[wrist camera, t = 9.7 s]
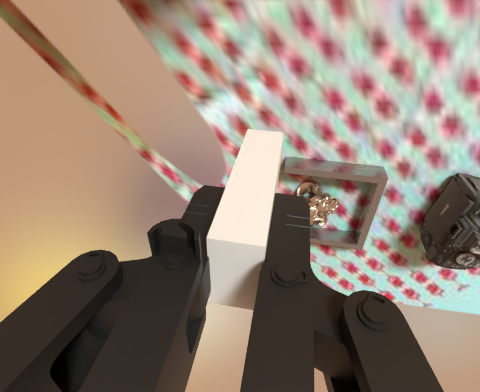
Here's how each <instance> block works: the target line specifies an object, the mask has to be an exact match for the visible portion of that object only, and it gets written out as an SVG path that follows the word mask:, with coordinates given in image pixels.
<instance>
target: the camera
mask: <svg viewBox="0 0 480 392" xmlns="http://www.w3.org/2000/svg"><path fill="white" fill-rule="evenodd" d="M421 240H422V242H423V245H424V248H425V250H426V258H427V259H428V260H429V261H431V262H433V263H434V264H436V265H437V266H440V267H443V268H446V269H464V270H466V269H473V268H478V267H480V178H479V177H475V176H471V175H466V174H461V173H457V174H455V175H454V177H453V178H452V179H451V181H450V182H449V183H448V185H447V186H446V188H445V189H444V191H443V192H442V193H441V195H440V196H439V197H438V199H437V200H436V201H435V203H434V204H433V206H432V207H431V208H430V210H429V211H428V213H427V214H426V216H425V217H424V223H423V225H422V228H421Z"/></svg>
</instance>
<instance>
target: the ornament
mask: <svg viewBox="0 0 480 392" xmlns="http://www.w3.org/2000/svg"><path fill="white" fill-rule="evenodd" d="M307 192H312V193H314V194H315V196H314V197H312V198H308V197H305V196H304V197H305V199H306V201H307V202H308V204H309V206H310V224H311V225H313V224H314V222H313V221H320V222H319V223H318V224H317V225H318V227H322V226H323V225H325V223H326V222H327V221H328V218H327V214H328V215H331V214H333V213H334V211H335V210H336V209H337V208H338V206H339V200H338V199H337V198H336V197H333V196H331V195H330V194H329V193H324V194H323V193H322V192H321V191H320V188H319V186H318V185H316V184H313V183H312V182H304V183H302V184H301V185H300V186H299V187H298V189H297V196H303V195H304V194H305V193H307Z"/></svg>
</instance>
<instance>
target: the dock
mask: <svg viewBox="0 0 480 392" xmlns="http://www.w3.org/2000/svg"><path fill="white" fill-rule="evenodd" d="M284 173H290V174H298V175H307V176H316V177H325V178H334V179H343V180H352V181H361V182H370V183H371V185H370V188H369V191H368V194H367V197H366V200H365V203H364V206H363V209H362V212H361V215H360V218H359V221H358V224H357V227H356V230H355V232H349V231H342V230H334V229H327V228H319V227H312V226H310V243H315V244H322V245H329V246H336V247H343V248H350V249H357V250H362V248H363V245H364V243H365V240H366V237H367V234H368V232H369V229H370V226H371V223H372V221H373V218H374V215H375V212H376V210H377V207H378V204H379V202H380V199H381V196H382V193H383V191H384V188H385V185H386V182H387V180H388V177H387V174H386V171H385V169H384V167H380V166H370V165H361V164H351V163H342V162H332V161H323V160H313V159H304V158H294V157H286V159H285V167H284Z"/></svg>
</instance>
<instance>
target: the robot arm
mask: <svg viewBox="0 0 480 392" xmlns="http://www.w3.org/2000/svg"><path fill="white" fill-rule="evenodd" d="M283 135H284V133H283V132H273V131H262V130H252V129H248V130H247V133H246V135H245V138H244V141H243V143H242V146H241V149H240V151H239V154H238V156H237V159H236V162H235V164H234V167H233V169H232V172H231V175H230V177H229V180H228V183H227V185H226V188H223V187H215V186H207V185H204V186H203V187H201V188H200V189H199V190H198V191H196V192H195V193H194V195H193V197H192V199H191V201H190V204H189V205H188V207H187V209H186V211H185V213H184V214H183V216H182V218H181V219H170V220H165V221H162V222H160V223H158V224H156V225H154V226H153V227H152V228H151V229H150V230H149V231H148V238H149V243H150V247H151V252H152V256H151V257H149V258H145V259H140V260H131V261H123V262H119V261H118V259H117V257H116V255H114V254H113V253H112V252H110V251H105V250H95V251H90V252H87V253H84V254H81V255H80V256H78V257H77V258H75V259H74V260H72V261H71V262H70V263H69V264H68V265H66V266H65V267H64V268H63V269H62V270H61V271H59V272H58V273H57V274H56V275H55V276H54V277H52V278H51V279H50V280H49V281H48V282H47V283H46V284H44V285H43V286H42V287H41V288H40V289H39V290H37V291H36V292H35V293H34V294H33V295H32V296H30V297H29V298H28V299H27V300H26V301H25V302H24V303H22V304H21V305H20V306H19V307H18V308H17V309H15V310H14V311H13V312H12V313H11V314H10V315H8V316H7V317H6V318H5V319H4V320H3V321H2V322H0V392H185V389H186V385H187V382H188V379H189V375H190V372H191V369H192V365H193V361H194V358H195V355H196V351H197V348H198V345H199V341H200V338H201V334H202V331H203V327H204V324H205V321H206V305H207V301H208V298H209V295H210V302H211V303H216V304H222V305H227V306H233V307H240V308H245V309H251V310H254V311H253V317H252V323H251V330H250V335H249V342H248V347H247V353H246V359H245V365H244V371H243V377H242V383H241V389H240V392H314V368H316V369H318V370H320V371H322V372H323V374H324V378H325V382H326V385H327V389H328V392H444V391H443V389H442V388H441V386H440V384H439V382H438V380H437V378H436V376H435V374H434V372H433V370H432V368H431V367H430V365H429V363H428V361H427V359H426V357H425V355H424V353H423V351H422V350H421V348H420V346H419V344H418V342H417V340H416V338H415V336H414V334H413V333H412V331H411V329H410V327H409V325H408V323H407V321H406V319H405V317H404V316H403V314H402V312H401V311H400V310H399V308H398V307H397V306H396V304H394V303H393V302H392V301H390V300H389V299H388V298H387V297H385V296H383V295H381V294H378V293H376V292H373V291H365V290H362V291H357V292H353V293H352V294H351V295H349V296H347V295H344V294H342V293H340V292H338V291H335V290H333V289H331V288H329V287H328V286H326V285H324V284H323V283H322V282H321V281H319V280H318V278H317V277H316V276H315V275H314V273H313V271H312V269H311V265H310V206H309V204H308V202H307V201H306V199H305V197H304V196H296V195H288V194H280V193H277V187H278V179H279V170H280V161H281V152H282V144H283Z"/></svg>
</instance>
